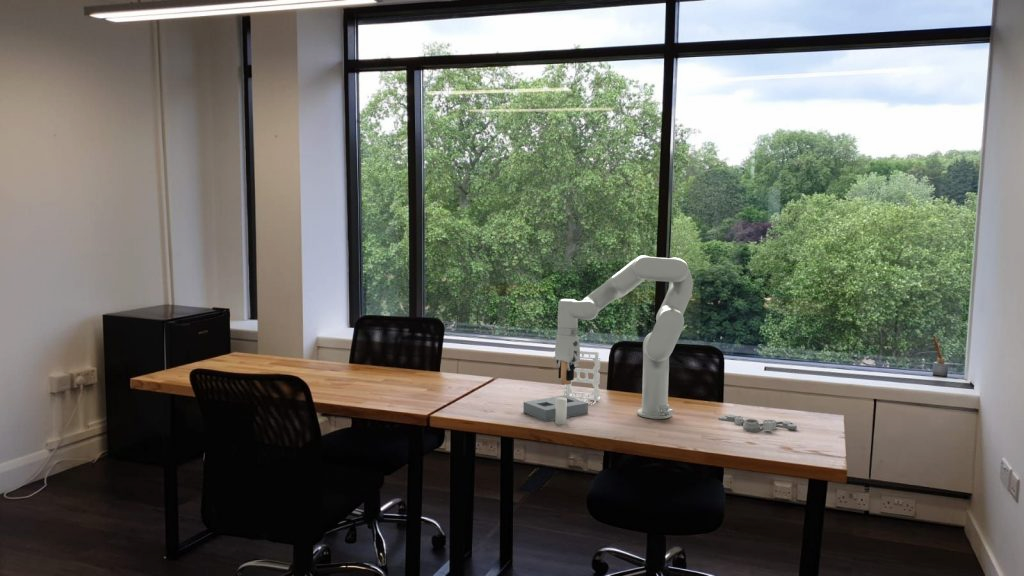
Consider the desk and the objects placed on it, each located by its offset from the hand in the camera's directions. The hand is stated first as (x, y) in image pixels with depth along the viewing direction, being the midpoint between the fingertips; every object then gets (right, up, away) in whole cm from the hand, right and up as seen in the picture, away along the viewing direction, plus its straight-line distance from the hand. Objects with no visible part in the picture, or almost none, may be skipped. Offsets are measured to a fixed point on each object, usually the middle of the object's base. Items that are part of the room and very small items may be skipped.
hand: (566, 378), depth 272 cm
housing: (-4, -13, -2) cm, 13 cm away
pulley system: (+66, -16, -16) cm, 70 cm away
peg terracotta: (0, -2, 0) cm, 2 cm away
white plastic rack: (+8, -11, +18) cm, 23 cm away
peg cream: (-3, -14, -15) cm, 21 cm away
